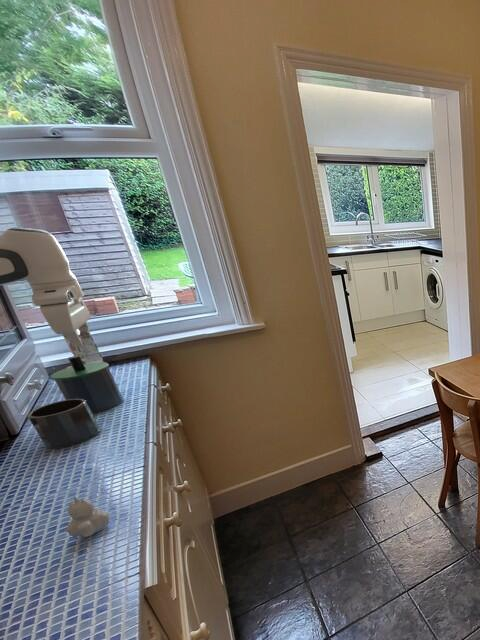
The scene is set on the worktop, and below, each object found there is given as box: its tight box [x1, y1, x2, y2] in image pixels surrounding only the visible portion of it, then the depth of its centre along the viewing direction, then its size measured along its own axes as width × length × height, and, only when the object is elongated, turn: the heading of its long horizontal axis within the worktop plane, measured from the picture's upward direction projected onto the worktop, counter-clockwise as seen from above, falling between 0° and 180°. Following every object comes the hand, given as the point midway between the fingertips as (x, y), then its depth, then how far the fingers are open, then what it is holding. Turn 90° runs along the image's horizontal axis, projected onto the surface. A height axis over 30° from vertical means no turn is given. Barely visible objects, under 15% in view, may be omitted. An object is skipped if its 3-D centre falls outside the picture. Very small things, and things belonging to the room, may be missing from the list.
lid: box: [50, 355, 110, 381], centre depth 120 cm, size 12×12×5 cm
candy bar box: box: [61, 329, 105, 363], centre depth 147 cm, size 11×5×16 cm, turn 59°
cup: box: [26, 399, 101, 450], centre depth 106 cm, size 10×10×9 cm
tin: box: [54, 367, 124, 415], centre depth 123 cm, size 11×11×12 cm
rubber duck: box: [66, 495, 110, 538], centre depth 73 cm, size 5×7×8 cm
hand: (83, 341), depth 115 cm, fingers open, 8 cm apart
